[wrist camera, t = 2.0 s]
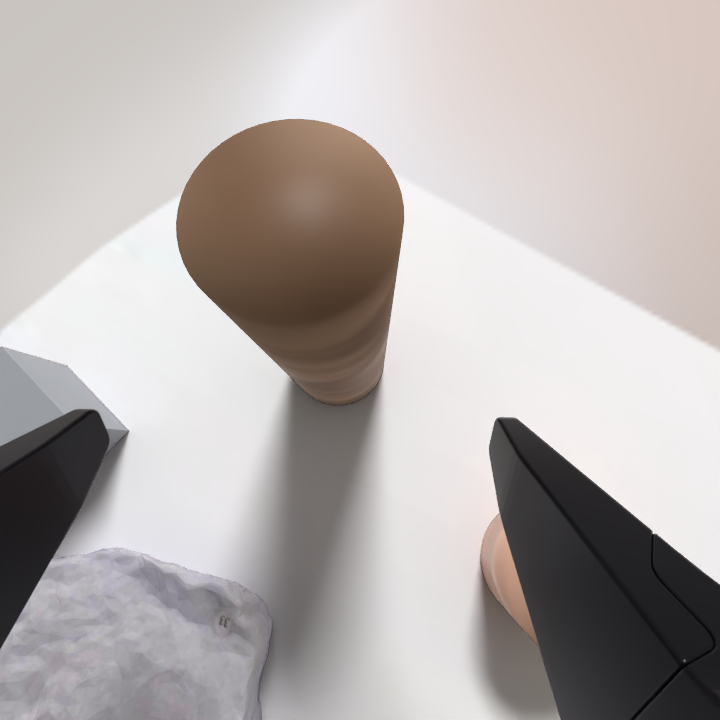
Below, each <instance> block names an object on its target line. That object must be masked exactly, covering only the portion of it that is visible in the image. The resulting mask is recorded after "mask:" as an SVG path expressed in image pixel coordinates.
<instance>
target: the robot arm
mask: <svg viewBox="0 0 720 720" xmlns="http://www.w3.org/2000/svg"><path fill="white" fill-rule="evenodd" d="M109 442H110V437H109V434H108V431H107V429H106V427H105V424H104V422H103V420H102V418H101V415H100V413H99V412H98V411H97V410H95V409H75V410H72V411H70V412H68V413H66V414H64V415H62V416H60V417H58V418H56V419H54V420H52V421H50V422H48V423H46V424H44V425H42V426H40V427H38V428H36V429H34V430H32V431H30V432H28V433H26V434H24V435H22V436H20V437H18V438H16V439H14V440H12V441H10V442H8V443H6V444H4V445H2V446H0V649H1V648H2V646H3V644H4V642H5V641H6V639H7V637H8V635H9V634H10V632H11V630H12V628H13V627H14V625H15V623H16V621H17V620H18V618H19V616H20V614H21V613H22V611H23V609H24V607H25V606H26V604H27V602H28V600H29V599H30V597H31V595H32V593H33V592H34V590H35V588H36V586H37V584H38V583H39V581H40V579H41V577H42V576H43V574H44V572H45V570H46V569H47V567H48V565H49V563H50V562H51V560H52V558H53V556H54V555H55V553H56V551H57V549H58V548H59V546H60V544H61V542H62V541H63V539H64V537H65V535H66V534H67V532H68V530H69V528H70V527H71V525H72V523H73V521H74V520H75V518H76V516H77V514H78V512H79V510H80V509H81V507H82V505H83V503H84V500H85V498H86V496H87V494H88V492H89V490H90V487H91V485H92V483H93V481H94V478H95V476H96V474H97V472H98V469H99V467H100V465H101V462H102V460H103V458H104V456H105V453H106V451H107V449H108V446H109ZM489 455H490V461H491V466H492V472H493V478H494V484H495V489H496V495H497V501H498V506H499V512H500V517H501V521H502V524H503V528H504V531H505V535H506V538H507V541H508V545H509V548H510V551H511V555H512V558H513V561H514V565H515V568H516V571H517V575H518V578H519V582H520V585H521V588H522V592H523V595H524V598H525V602H526V605H527V608H528V612H529V615H530V618H531V622H532V625H533V628H534V632H535V635H536V638H537V642H538V645H539V648H540V652H541V655H542V658H543V662H544V665H545V668H546V672H547V675H548V678H549V682H550V685H551V688H552V692H553V695H554V698H555V702H556V705H557V708H558V712H559V715H560V718H561V720H720V584H718V583H717V582H716V581H714V580H713V579H712V578H710V577H709V576H708V575H706V574H705V573H704V572H703V571H701V570H700V569H699V568H698V567H696V566H695V565H694V564H693V563H691V562H690V561H689V560H688V559H686V558H685V557H684V556H683V555H681V554H680V553H679V552H678V551H676V550H675V549H674V548H673V547H671V546H670V545H669V544H668V543H667V542H665V541H664V540H663V539H662V538H661V537H659V536H658V535H657V534H653V532H652V530H651V529H650V528H648V527H647V526H646V525H645V524H643V523H642V522H641V521H640V520H639V519H637V518H636V517H635V516H634V515H633V514H631V513H630V512H629V511H628V510H627V509H625V508H624V507H623V506H622V505H621V504H619V503H618V502H617V501H616V500H615V499H613V498H612V497H611V496H610V495H608V494H607V493H606V492H605V491H604V490H602V489H601V488H600V487H599V486H598V485H596V484H595V483H594V482H593V481H592V480H590V479H589V478H588V477H587V476H586V475H584V474H583V473H582V472H581V471H580V470H578V469H577V468H576V467H575V466H573V465H572V464H571V463H570V462H569V461H567V460H566V459H565V458H564V457H563V456H561V455H560V454H559V453H558V452H557V451H555V450H554V449H553V448H552V447H551V446H549V445H548V444H547V443H546V442H545V441H543V440H542V439H541V438H540V437H538V436H537V435H536V434H535V433H534V432H532V431H531V430H530V429H529V428H528V427H526V426H525V425H524V424H523V423H522V422H520V421H519V420H518V419H516V418H511V417H499V418H497V419H496V420H495V423H494V427H493V431H492V436H491V440H490V445H489Z"/></svg>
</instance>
